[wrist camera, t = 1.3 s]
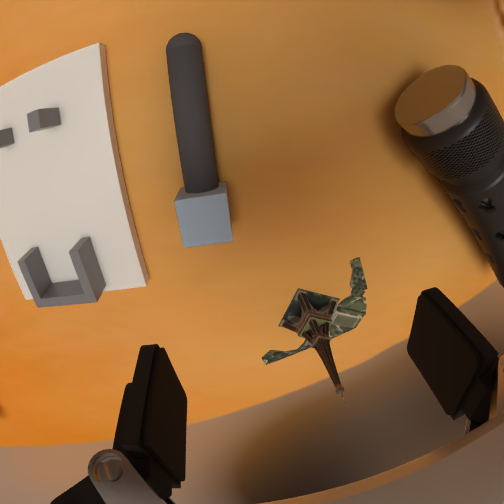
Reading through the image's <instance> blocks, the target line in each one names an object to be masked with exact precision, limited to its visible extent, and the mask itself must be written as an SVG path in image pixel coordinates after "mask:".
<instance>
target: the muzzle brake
mask: <svg viewBox="0 0 504 504" xmlns="http://www.w3.org/2000/svg"><path fill="white" fill-rule="evenodd" d="M394 114H395V118H396V120H397V122H398V123H399V124H400V125H401V127H402V134H403V139H404V141H405V143H406V145H407V146H408V147H409V148H410V150H411V151H412V152H413V153H414V154H415V156H416V157H417V158H418V159H419V161H420V162H421V163H422V164H423V166H424V167H425V168H426V170H427V171H428V172H429V173H430V174H432V175H433V176H435V177H437V178H439V181H440V183H441V185H442V187H443V188H444V189H445V191H446V192H447V194H448V195H449V197H450V198H451V200H452V201H453V203H454V204H455V206H456V207H457V209H458V210H459V212H460V213H461V215H462V216H463V218H464V220H465V221H466V223H467V224H468V226H469V228H470V229H471V231H472V233H473V234H474V236H475V238H476V240H477V241H478V243H479V245H480V247H481V248H482V250H483V252H484V254H485V256H486V258H487V259H488V261H489V263H490V265H491V267H492V269H493V271H494V273H495V275H496V277H497V279H498V281H499V283H500V284H501V285H502V286H503V287H504V121H503V119H502V117H501V115H500V113H499V111H498V109H497V107H496V106H495V104H494V102H493V100H492V98H491V97H490V95H489V93H488V91H487V90H486V88H485V87H484V86H483V85H482V84H481V83H480V82H478V81H477V80H475V79H473V78H470V77H469V75H468V74H467V72H466V71H465V70H464V69H463V68H461V67H460V66H456V65H445V66H441V67H437V68H435V69H432V70H430V71H428V72H426V73H425V74H423V75H422V76H420V77H419V78H417V79H416V80H415V81H413V82H412V83H411V84H410V85H409V86H408V87H407V88H406V89H405V90H404V92H403V93H402V94H401V96H400V97H399V99H398V101H397V103H396V106H395V110H394Z"/></svg>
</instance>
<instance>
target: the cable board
mask: <svg viewBox="0 0 504 504" xmlns="http://www.w3.org/2000/svg"><path fill="white" fill-rule="evenodd" d="M0 238H1V241H2V244H3V246H4V249H5V252H6V255H7V257H8V260H9V262H10V265H11V267H12V270H13V272H14V274H15V277H16V279H17V281H18V284H19V286H20V288H21V290H22V292H23V295H24V297H25V299H26V300H28V299H34V301H35V303H36V305H37V307H38V308H39V307H51V306H62V305H73V304H83V303H94V302H98V300H99V298H100V296H101V294H102V292H103V291H111V290H119V289H128V288H136V287H144V286H147V283H148V280H149V276H148V273H147V269H146V266H145V262H144V259H143V255H142V251H141V248H140V244H139V240H138V237H137V233H136V229H135V225H134V221H133V217H132V213H131V208H130V204H129V200H128V195H127V191H126V186H125V181H124V177H123V172H122V167H121V162H120V156H119V151H118V145H117V139H116V133H115V127H114V121H113V114H112V107H111V100H110V92H109V83H108V74H107V64H106V52H105V45H103V44H101V43H96V44H93V45H90V46H87V47H85V48H82V49H79V50H77V51H74V52H71V53H69V54H66V55H64V56H62V57H59V58H57V59H54V60H52V61H50V62H48V63H45V64H43V65H41V66H39V67H37V68H35V69H33V70H31V71H29V72H27V73H25V74H23V75H21V76H19V77H17V78H15V79H13V80H11V81H10V82H8V83H6V84H4V85H2V86H1V87H0Z"/></svg>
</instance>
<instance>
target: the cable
mask: <svg viewBox="0 0 504 504" xmlns="http://www.w3.org/2000/svg"><path fill="white" fill-rule="evenodd" d="M166 55H167V65H168V74H169V82H170V90H171V98H172V106H173V114H174V121H175V128H176V135H177V142H178V148H179V155H180V161H181V167H182V173H183V179H184V185H185V187H184V188H180V190H179V192H178V194H177V196H176V198H175V200H174V202H175V207H176V212H177V217H178V222H179V227H180V232H181V237H182V242H183V246H184V248H188V247H196V246H203V245H210V244H217V243H225V242H232V241H233V236H232V225H231V217H230V210H229V203H228V195H227V188H226V181H224V182H218V177H217V170H216V163H215V155H214V148H213V140H212V132H211V124H210V116H209V108H208V100H207V92H206V84H205V75H204V66H203V57H202V48H201V43H200V41H199V39H198V38H197V37H196V36H195V35H192V34H190V33H180V34H177V35H175V36H174V37H172V38H171V39H170V40H169V42H168V44H167V47H166Z"/></svg>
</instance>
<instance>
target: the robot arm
mask: <svg viewBox="0 0 504 504" xmlns="http://www.w3.org/2000/svg"><path fill="white" fill-rule="evenodd" d="M407 351H408V354H409V356H410V357H411V359H412V360H413V362H414V363H415V365H416V366H417V368H418V369H419V371H420V372H421V374H422V376H423V377H424V379H425V380H426V382H427V383H428V385H429V387H430V388H431V390H432V391H433V393H434V395H435V396H436V398H437V399H438V401H439V403H440V404H441V406H442V408H443V409H444V411H445V412H446V414H447V415H451V417H452V419H453V420H455V419H457V418H459V417H461V416H462V415H464V414H465V415H466V416H467V423H466V429H465V434H464V435H463V436H462V437H460V438H458V439H456V440H454V441H452V442H451V443H449V444H447V445H445V446H443V447H441V448H439V449H437V450H435V451H433V452H431V453H429V454H427V455H424V456H422V457H420V458H418V459H415V460H413V461H411V462H408V463H406V464H404V465H402V466H399V467H397V468H394V469H392V470H389V471H386V472H383V473H381V474H378V475H375V476H372V477H369V478H366V479H364V480H361V481H357V482H354V483H351V484H348V485H344V486H341V487H337V488H334V489H330V490H326V491H322V492H318V493H314V494H310V495H305V496H301V497H295V498H290V499H285V500H279V501H273V502H267V503H260V504H504V355H503V356H502V357H501V358H500V359H499V358H498V357H497V355H498V352H497V351H496V350H495V349H494V347H493V346H492V345H491V344H490V343H489V342H488V341H487V340H486V338H485V337H484V336H483V335H482V334H481V333H480V332H479V331H478V330H477V329H476V327H475V326H474V325H473V324H472V323H471V322H470V321H469V320H468V319H467V318H466V317H465V316H464V315H463V313H462V312H461V311H460V310H459V309H458V308H457V307H456V306H455V305H454V304H453V303H452V302H451V301H450V300H449V299H448V298H447V297H446V296H445V295H444V294H443V293H442V292H441V291H440V290H439V289H438V288H436V287H434V288H430V289H427V290H424V291H422V292H421V295H420V296H419V297H418V300H417V305H416V310H415V315H414V320H413V324H412V328H411V333H410V337H409V341H408V345H407ZM186 422H187V397H186V394H185V391H184V389H183V387H182V385H181V383H180V381H179V379H178V377H177V375H176V373H175V371H174V368H173V366H172V364H171V362H170V360H169V357H168V355H167V353H166V351H165V349H164V348H160V347H159V345H158V344H153V345H143V346H141V348H140V351H139V355H138V360H137V364H136V368H135V372H134V377H133V381H132V383H128V384H127V385H126V387H125V391H124V395H123V399H122V404H121V409H120V413H119V418H118V423H117V428H116V433H115V438H114V444H113V449H105V450H102V451H99V452H98V453H96V454H95V455H94V456H93V457H92V458H91V460H90V461H89V465H88V474H89V475H88V476H87V477H86V478H84V479H83V480H82V481H80V482H79V483H77V484H76V485H74V486H73V487H71V488H70V489H69V490H67V491H66V492H64V493H63V494H61V495H60V496H58V497H57V498H55V499H54V500H53V501H52V502H51V504H176V503H175V502H174V501H173V500H172V499H171V498H170V496H171V494H172V488H181V481H184V480H185V464H186V462H185V461H186V460H185V459H186Z"/></svg>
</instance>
